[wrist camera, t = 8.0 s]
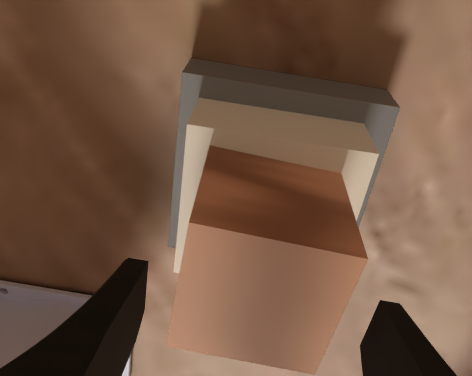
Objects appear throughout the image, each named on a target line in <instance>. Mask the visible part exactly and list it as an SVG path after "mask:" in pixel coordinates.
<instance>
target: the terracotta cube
mask: <svg viewBox="0 0 472 376" xmlns="http://www.w3.org/2000/svg"><path fill="white" fill-rule="evenodd" d="M367 260H368V258H367V254H366V251H365V248H364V245H363V241H362V238H361V235H360V232H359V228H358V225H357V222H356V219H355V216H354V212H353V209H352V206H351V203H350V199H349V196H348V193H347V190H346V187H345V183H344V180H343V177H342V174H341V173H336V172H331V171H327V170H322V169H318V168H313V167H308V166H304V165H299V164H294V163H290V162H285V161H280V160H276V159H271V158H266V157H262V156H257V155H252V154H248V153H243V152H238V151H234V150H229V149H225V148H220V147H215V146H211V145H210V146H209V149H208V153H207V157H206V161H205V164H204V168H203V172H202V175H201V179H200V183H199V186H198V190H197V194H196V197H195V201H194V205H193V209H192V212H191V216H190V220H189V224H188V229H187V234H186V240H185V245H184V251H183V256H182V261H181V267H180V272H179V277H178V283H177V288H176V294H175V299H174V304H173V310H172V315H171V320H170V326H169V331H168V337H167V342H166V346H167V347H172V348H178V349H183V350H188V351H193V352H199V353H204V354H209V355H214V356H219V357H225V358H230V359H235V360H240V361H246V362H251V363H256V364H261V365H267V366H272V367H277V368H282V369H288V370H293V371H298V372H303V373H309V374H314V375H315V373H316V371H317V369H318V367H319V365H320V362H321V360H322V358H323V356H324V354H325V352H326V349H327V347H328V345H329V343H330V341H331V339H332V336H333V334H334V332H335V330H336V328H337V325H338V323H339V321H340V319H341V317H342V315H343V312H344V310H345V308H346V306H347V304H348V302H349V299H350V297H351V295H352V293H353V291H354V289H355V286H356V284H357V282H358V280H359V278H360V275H361V273H362V271H363V269H364V267H365V265H366V262H367Z"/></svg>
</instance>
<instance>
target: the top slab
mask: <svg viewBox="0 0 472 376" xmlns="http://www.w3.org/2000/svg"><path fill="white" fill-rule="evenodd" d="M210 145H211V146H215V147H220V148H225V149H229V150H234V151H238V152H243V153H248V154H252V155H257V156H262V157H266V158H271V159H276V160H280V161H285V162H290V163H294V164H299V165H304V166H308V167H313V168H318V169H322V170H327V171H331V172H336V173H341V174H342V177H343V180H344V183H345V187H346V190H347V193H348V196H349V199H350V203H351V206H352V209H353V212H354V216H355V219H356V221H357V218H358V215H359V213H360V210H361V207H362V204H363V201H364V198H365V195H366V192H367V189H368V186H369V183H370V180H371V177H372V174H373V171H374V168H375V165H376V162H377V159H378V156H379V153H378V151H377V149H376V147H375V145H374V143H373V141H372V139H371V137H370V135H369V133H368V131H367V129H366V127H365V125H364V123H358V122H351V121H345V120H338V119H332V118H326V117H319V116H313V115H307V114H300V113H294V112H287V111H281V110H275V109H268V108H262V107H255V106H249V105H243V104H236V103H230V102H224V101H217V100H211V99H204V98H198V100H197V102H196V105H195V107H194V109H193V111H192V114H191V116H190V118H189V121H188V123H187V129H186V140H185V151H184V163H183V174H182V185H181V197H180V208H179V219H178V230H177V242H176V253H175V264H174V272H175V273H179V272H180V267H181V261H182V256H183V251H184V245H185V240H186V234H187V229H188V224H189V220H190V216H191V212H192V209H193V205H194V201H195V197H196V194H197V190H198V186H199V183H200V179H201V175H202V172H203V168H204V164H205V161H206V157H207V153H208V149H209V146H210Z"/></svg>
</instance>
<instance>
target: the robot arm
mask: <svg viewBox="0 0 472 376" xmlns="http://www.w3.org/2000/svg"><path fill="white" fill-rule="evenodd" d="M147 272H148V261H144V260H138V259H132V258H128V259H126V260H125V261H124V262H123V263H122V264H121V265H120V267H119V268H118V269H117V270H116V271H115V272H114V274H113V275H112V276H111V277H110V278H109V279H108V280H107V281H106V282H105V283H104V284H103V285H102V287H101V288H100V289H99V290H98V291H97V292H96V293H95V294H94V295H93V296H92V295H86V294H80V293H74V292H68V291H62V290H56V289H50V288H44V287H38V286H32V285H26V284H20V283H14V282H8V281H2V280H0V376H130V370H131V354H132V349H133V347H134V344H135V342H136V339H137V335H138V332H139V328H140V324H141V321H142V317H143V314H144V310H145V297H146V285H147ZM360 350H361V362H362V371H363V376H457V375H456V374H455V373H454V372H453V370H452V369H451V368H450V367H449V366H448V365H447V363H446V362H445V361H444V360H443V358H442V357H441V356H440V355H439V354H438V352H437V351H436V350H435V349H434V347H433V346H432V345H431V343H430V342H429V341H428V340H427V338H426V337H425V336H424V334H423V333H422V332H421V331H420V329H419V328H418V327H417V325H416V324H415V323H414V321H413V320H412V319H411V317H410V316H409V315H408V314H407V312H406V311H405V310H404V308H403V307H402V306H401V305H400V304H399V303H393V302H388V301H382V300H380V302H379V304H378V306H377V308H376V311H375V313H374V315H373V317H372V320H371V322H370V324H369V326H368V329H367V331H366V333H365V336H364V338H363V340H362V342H361V345H360Z"/></svg>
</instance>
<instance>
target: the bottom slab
mask: <svg viewBox="0 0 472 376" xmlns="http://www.w3.org/2000/svg"><path fill="white" fill-rule="evenodd" d="M198 98H204V99H211V100H217V101H224V102H230V103H236V104H243V105H249V106H255V107H262V108H268V109H275V110H281V111H287V112H294V113H300V114H307V115H313V116H319V117H326V118H332V119H338V120H345V121H351V122H358V123H364V125H365V127H366V129H367V131H368V133H369V135H370V137H371V139H372V141H373V143H374V145H375V147H376V149H377V151H378V153H379V156H378V159H377V162H376V165H375V168H374V171H373V174H372V177H371V180H370V183H369V186H368V189H367V192H366V195H365V198H364V201H363V204H362V207H361V210H360V213H359V215H358V218H357V221H356V222H357V225H358V228H359V225H360V222H361V219H362V216H363V213H364V210H365V207H366V204H367V202H368V199H369V196H370V193H371V190H372V187H373V184H374V181H375V178H376V176H377V173H378V170H379V167H380V164H381V161H382V158H383V155H384V153H385V150H386V147H387V144H388V141H389V138H390V135H391V132H392V129H393V127H394V124H395V121H396V118H397V115H398V112H399V109H400V107H399V105H398V104H397V103H396V101H395V100H394V99H393V97H392V96H391V95H390V93H389V92H388V91H387V90H386V89H380V88H373V87H367V86H361V85H355V84H349V83H343V82H337V81H330V80H324V79H318V78H312V77H306V76H300V75H293V74H287V73H281V72H275V71H269V70H263V69H256V68H250V67H244V66H238V65H232V64H226V63H219V62H213V61H207V60H201V59H195V58H191V59H190V61H189V62H188V64H187V66H186V67H185V69H184V70H183V72H182V82H181V94H180V106H179V118H178V130H177V142H176V154H175V166H174V178H173V190H172V202H171V215H170V227H169V239H168V247H172V248H176V242H177V230H178V219H179V208H180V197H181V185H182V174H183V163H184V151H185V140H186V129H187V123H188V121H189V118H190V116H191V114H192V111H193V109H194V107H195V105H196V102H197V100H198Z"/></svg>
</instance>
